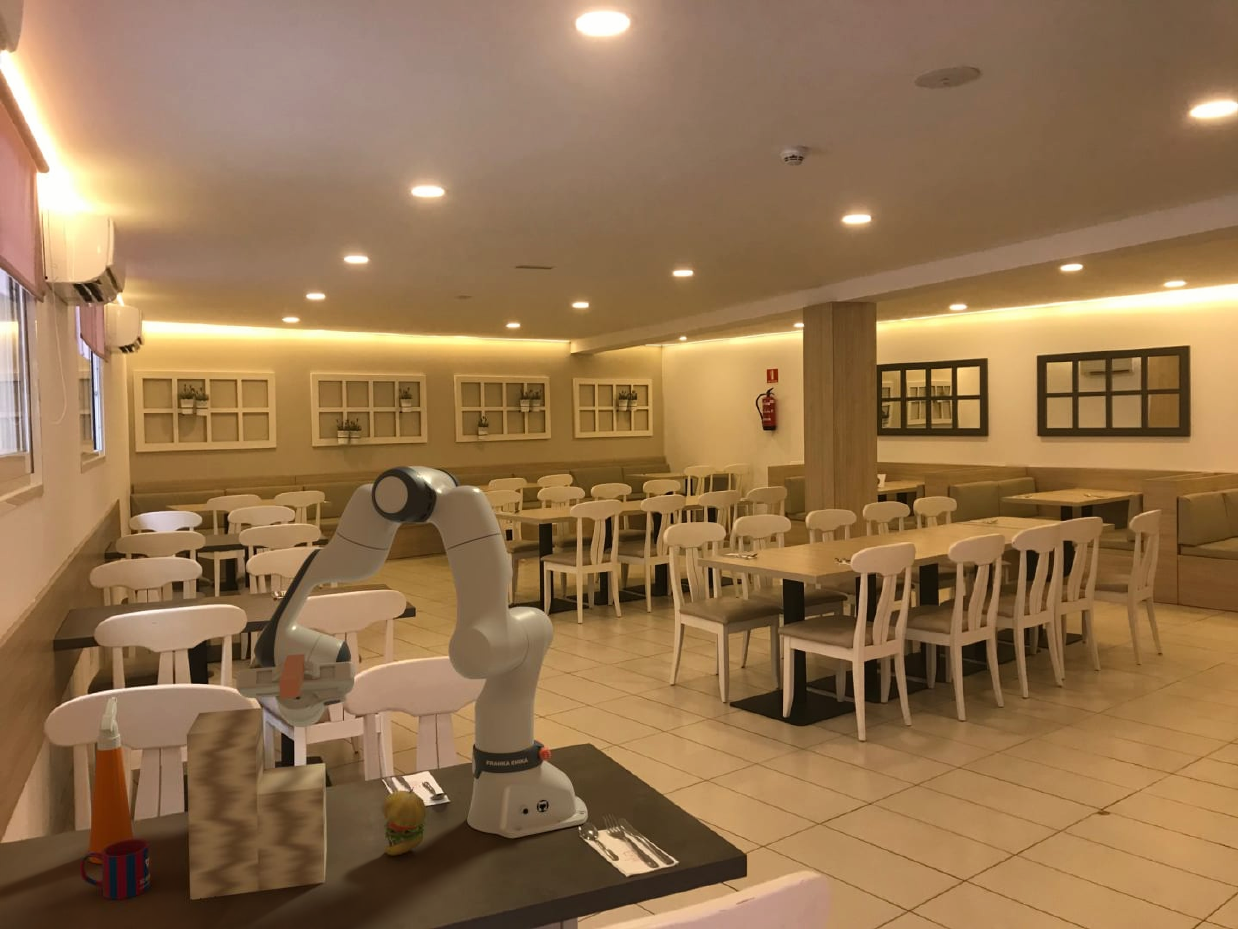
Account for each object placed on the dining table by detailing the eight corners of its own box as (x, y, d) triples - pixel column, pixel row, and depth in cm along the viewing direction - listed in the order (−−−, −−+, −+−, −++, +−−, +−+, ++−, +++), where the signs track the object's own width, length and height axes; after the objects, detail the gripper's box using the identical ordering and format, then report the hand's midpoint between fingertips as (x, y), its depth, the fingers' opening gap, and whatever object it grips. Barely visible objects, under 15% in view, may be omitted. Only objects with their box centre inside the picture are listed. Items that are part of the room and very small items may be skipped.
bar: (305, 670, 170) (304, 654, 170) (299, 696, 152) (298, 678, 152) (287, 672, 169) (287, 655, 169) (279, 698, 152) (279, 679, 152)
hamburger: (403, 841, 167) (402, 774, 167) (435, 849, 164) (434, 781, 164) (373, 859, 161) (372, 789, 160) (406, 867, 157) (405, 796, 157)
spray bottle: (139, 836, 171) (136, 691, 170) (131, 860, 161) (128, 707, 160) (95, 842, 168) (92, 696, 168) (84, 867, 158) (80, 712, 158)
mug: (139, 899, 147) (138, 856, 147) (73, 902, 147) (72, 858, 146) (157, 879, 154) (156, 838, 154) (93, 882, 153) (92, 840, 153)
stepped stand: (326, 851, 164) (324, 703, 163) (324, 882, 152) (321, 723, 151) (202, 866, 158) (199, 713, 158) (190, 900, 147) (186, 734, 146)
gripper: (240, 676, 175) (231, 653, 163) (354, 668, 181) (353, 645, 169) (239, 710, 172) (229, 689, 160) (355, 700, 178) (354, 679, 166)
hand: (294, 666), depth 165 cm, fingers closed on bar, 3 cm apart
